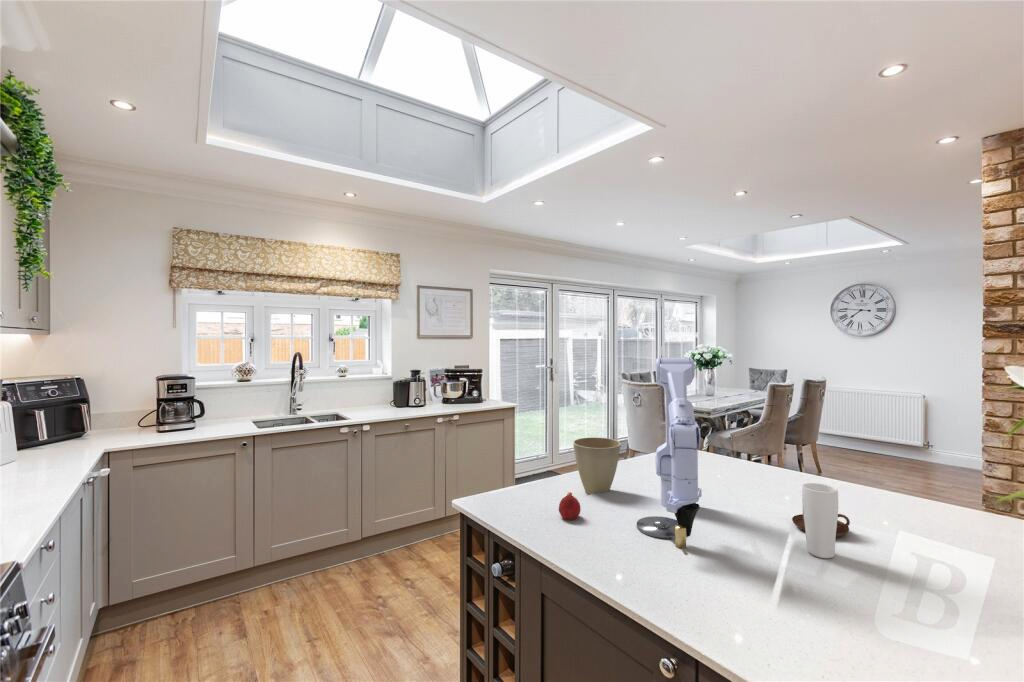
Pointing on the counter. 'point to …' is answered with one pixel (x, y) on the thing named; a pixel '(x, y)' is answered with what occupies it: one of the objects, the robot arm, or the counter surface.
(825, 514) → the drinking glass
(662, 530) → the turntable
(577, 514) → the onion
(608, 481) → the plant pot
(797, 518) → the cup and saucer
